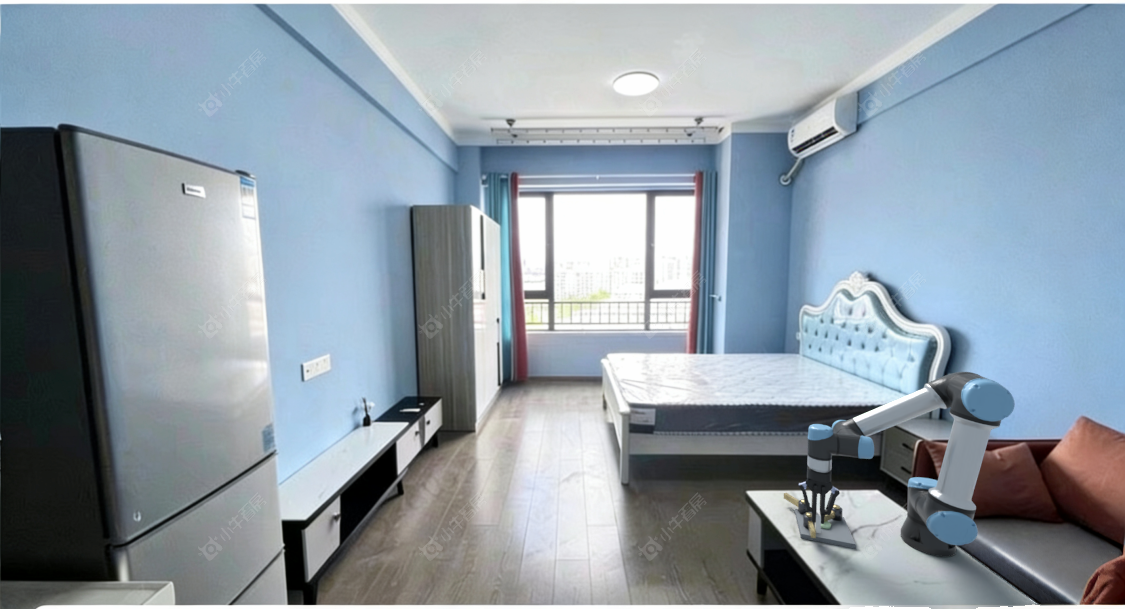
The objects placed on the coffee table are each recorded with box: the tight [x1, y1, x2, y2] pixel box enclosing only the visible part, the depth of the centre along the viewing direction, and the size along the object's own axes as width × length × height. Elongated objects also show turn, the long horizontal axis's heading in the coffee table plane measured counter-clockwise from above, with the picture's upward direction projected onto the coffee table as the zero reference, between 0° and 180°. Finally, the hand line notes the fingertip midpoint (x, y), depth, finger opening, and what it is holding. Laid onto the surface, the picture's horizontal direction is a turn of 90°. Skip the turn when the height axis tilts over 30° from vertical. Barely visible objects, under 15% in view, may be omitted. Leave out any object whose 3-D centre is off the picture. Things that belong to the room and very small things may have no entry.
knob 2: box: [803, 512, 816, 538], centre depth 155 cm, size 12×4×5 cm, turn 157°
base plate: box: [794, 508, 857, 549], centre depth 160 cm, size 17×18×3 cm
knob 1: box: [783, 492, 811, 514], centre depth 172 cm, size 12×4×5 cm, turn 17°
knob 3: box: [824, 503, 843, 522], centre depth 162 cm, size 12×4×5 cm, turn 116°
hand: (817, 530), depth 153 cm, fingers closed
